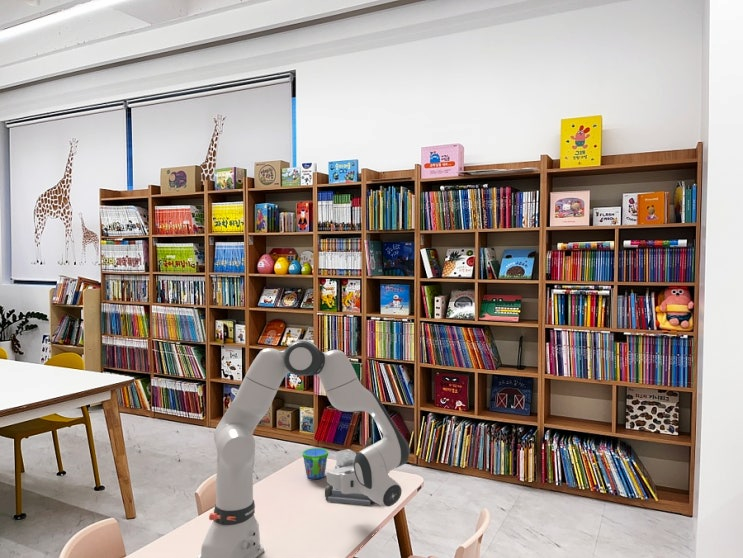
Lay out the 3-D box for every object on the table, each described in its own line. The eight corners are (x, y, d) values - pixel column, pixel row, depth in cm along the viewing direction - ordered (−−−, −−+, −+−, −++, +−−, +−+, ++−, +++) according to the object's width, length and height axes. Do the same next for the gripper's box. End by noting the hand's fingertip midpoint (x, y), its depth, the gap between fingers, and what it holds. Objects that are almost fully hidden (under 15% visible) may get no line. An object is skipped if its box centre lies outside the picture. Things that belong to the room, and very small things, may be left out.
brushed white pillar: (356, 484, 190) (356, 453, 190) (343, 487, 187) (343, 455, 187) (348, 479, 194) (348, 449, 194) (336, 482, 192) (336, 451, 191)
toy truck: (373, 505, 199) (373, 493, 199) (323, 501, 203) (323, 489, 203) (384, 484, 219) (384, 473, 219) (338, 480, 223) (338, 469, 223)
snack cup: (304, 469, 235) (304, 445, 235) (329, 469, 235) (329, 445, 235) (300, 483, 219) (300, 458, 219) (326, 483, 219) (326, 458, 219)
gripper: (392, 463, 185) (370, 451, 197) (338, 475, 174) (319, 462, 186) (392, 481, 185) (370, 468, 197) (338, 495, 174) (319, 480, 186)
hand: (344, 465), depth 191 cm, fingers closed on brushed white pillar, 5 cm apart
